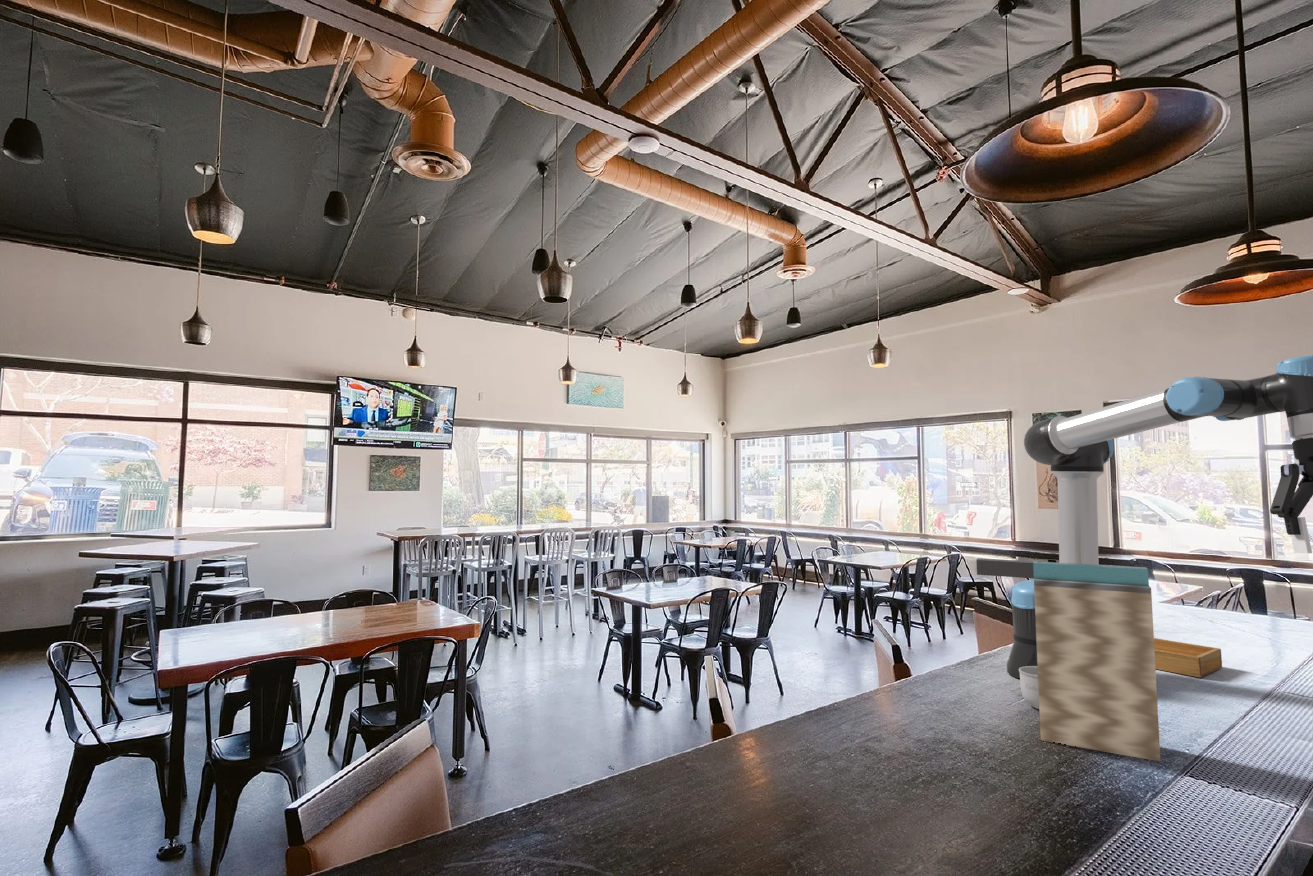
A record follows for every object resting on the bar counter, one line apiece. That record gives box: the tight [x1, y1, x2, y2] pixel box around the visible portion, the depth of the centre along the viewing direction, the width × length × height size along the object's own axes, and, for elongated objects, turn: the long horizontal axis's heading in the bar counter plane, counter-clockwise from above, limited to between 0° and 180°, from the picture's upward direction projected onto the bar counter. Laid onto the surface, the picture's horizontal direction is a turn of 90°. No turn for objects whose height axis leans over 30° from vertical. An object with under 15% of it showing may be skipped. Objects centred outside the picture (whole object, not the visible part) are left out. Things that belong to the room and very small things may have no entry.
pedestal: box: [1033, 578, 1162, 762], centre depth 121 cm, size 18×8×30 cm, turn 59°
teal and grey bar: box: [976, 557, 1150, 586], centre depth 124 cm, size 28×3×3 cm, turn 59°
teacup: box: [1019, 666, 1039, 710], centre depth 138 cm, size 14×11×8 cm
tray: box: [1154, 637, 1223, 678], centre depth 175 cm, size 31×15×6 cm, turn 33°
